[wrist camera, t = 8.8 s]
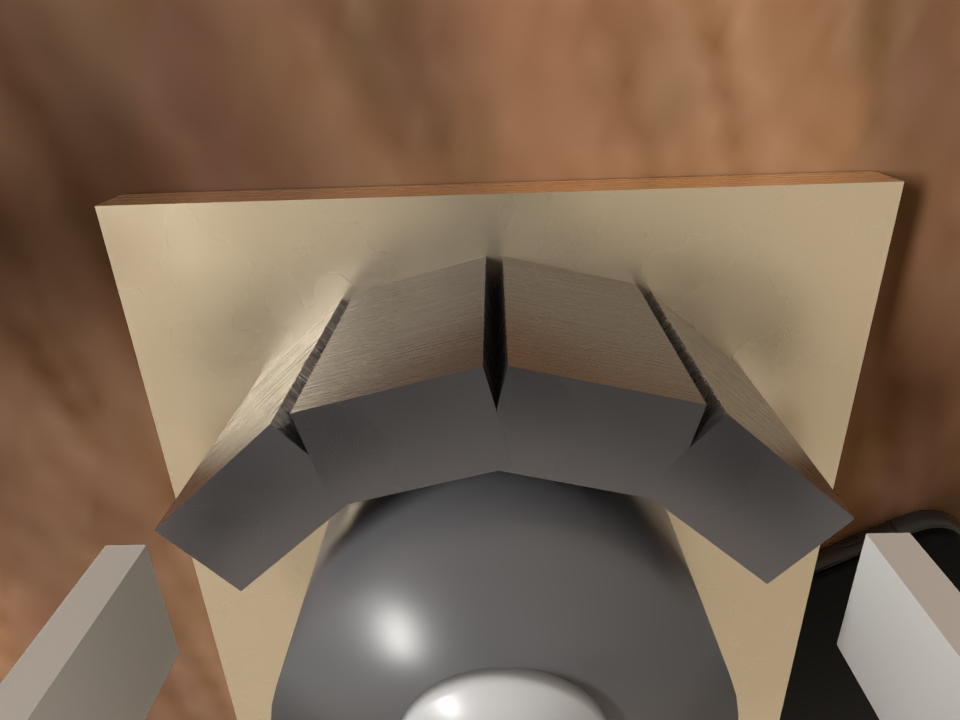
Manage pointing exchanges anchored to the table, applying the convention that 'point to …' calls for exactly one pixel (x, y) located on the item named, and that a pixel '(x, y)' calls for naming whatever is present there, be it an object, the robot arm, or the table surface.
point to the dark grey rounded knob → (503, 611)
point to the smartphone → (818, 661)
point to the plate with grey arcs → (506, 373)
